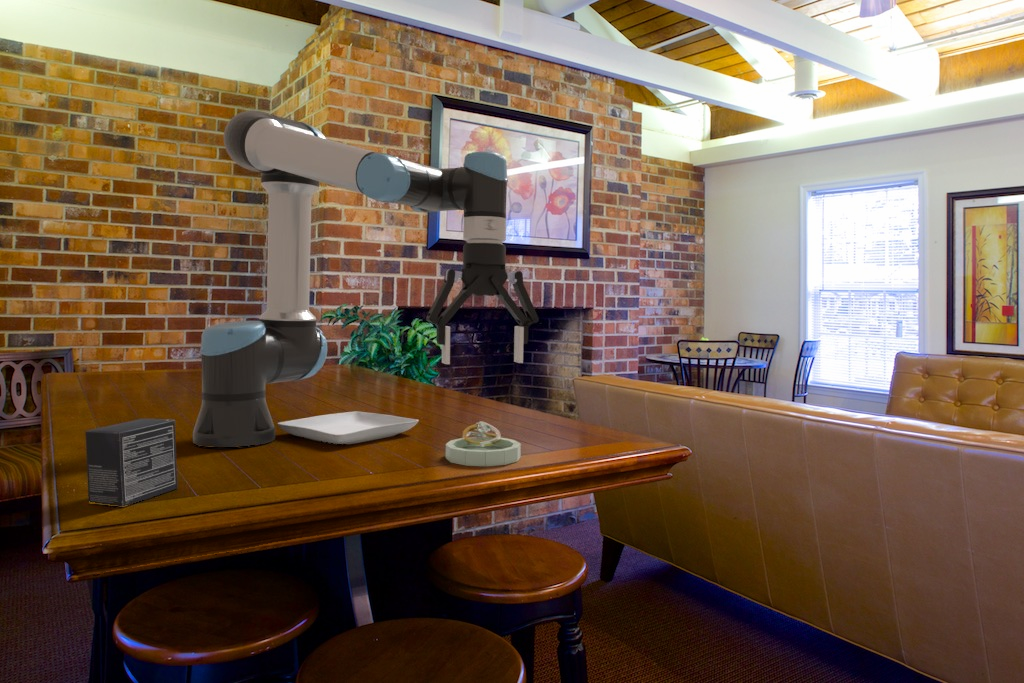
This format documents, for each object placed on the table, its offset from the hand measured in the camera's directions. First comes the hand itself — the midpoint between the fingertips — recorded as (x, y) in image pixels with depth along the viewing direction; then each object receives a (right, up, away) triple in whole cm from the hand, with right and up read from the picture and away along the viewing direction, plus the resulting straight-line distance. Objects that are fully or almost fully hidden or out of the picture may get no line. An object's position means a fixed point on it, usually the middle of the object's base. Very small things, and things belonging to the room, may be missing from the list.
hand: (482, 363), depth 129 cm
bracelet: (0, -15, +1) cm, 15 cm away
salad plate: (-29, -16, +21) cm, 39 cm away
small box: (-49, -19, -25) cm, 58 cm away
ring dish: (0, -17, +1) cm, 17 cm away
